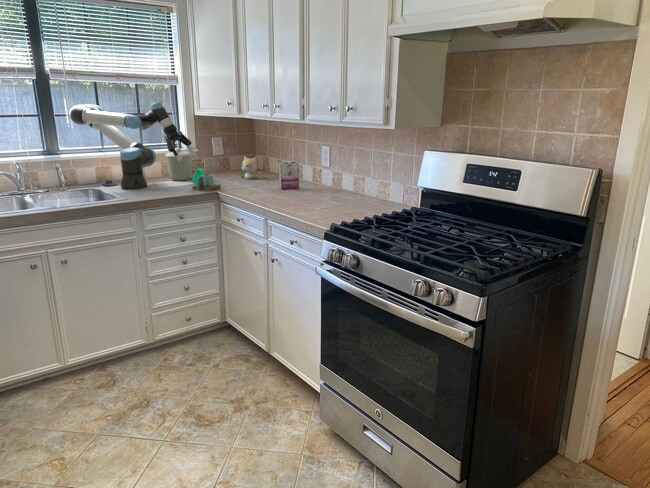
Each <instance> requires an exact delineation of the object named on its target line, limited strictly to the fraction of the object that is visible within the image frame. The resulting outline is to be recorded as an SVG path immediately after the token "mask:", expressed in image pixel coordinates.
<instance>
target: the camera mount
mask: <svg viewBox="0 0 650 488" xmlns="http://www.w3.org/2000/svg"><path fill="white" fill-rule="evenodd" d="M204 172H205V169H204V168H203V167H201V168H196V169H195V171H194V174H193V176H192V177H191V183H193V184H195V185H197V184H198V176H202V175H204ZM213 184H215V183H214V179H213Z"/></svg>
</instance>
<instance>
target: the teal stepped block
mask: <svg viewBox="0 0 650 488" xmlns="http://www.w3.org/2000/svg"><path fill="white" fill-rule="evenodd" d="M213 180H214V175H213V174H208V176H204V175H202V176H198V184H199V187H204V186H211V185H212V184H214V183H213Z"/></svg>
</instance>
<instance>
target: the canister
mask: <svg viewBox="0 0 650 488" xmlns="http://www.w3.org/2000/svg"><path fill="white" fill-rule="evenodd" d="M175 150H177V151H178V153H179V155H180V156H181V158H182V160H180V161H178V160H177V158H176V156H175V155H174V154H173V152H170V151H168V152H167V153H166V154H164V157H165V159H166V160H165V161H166V166H167V171H168V174H169V178H170V179H171V180H172V181H176V182H177V181H178V182H180V181H181V182H182V181H188V180H190V179H192V171H193V169H192V168H193V156H191V154H190V152H189V151H182V148H181V147H175Z"/></svg>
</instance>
